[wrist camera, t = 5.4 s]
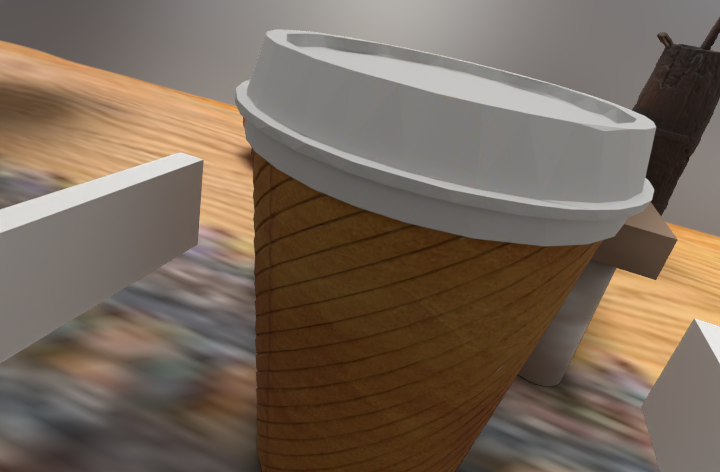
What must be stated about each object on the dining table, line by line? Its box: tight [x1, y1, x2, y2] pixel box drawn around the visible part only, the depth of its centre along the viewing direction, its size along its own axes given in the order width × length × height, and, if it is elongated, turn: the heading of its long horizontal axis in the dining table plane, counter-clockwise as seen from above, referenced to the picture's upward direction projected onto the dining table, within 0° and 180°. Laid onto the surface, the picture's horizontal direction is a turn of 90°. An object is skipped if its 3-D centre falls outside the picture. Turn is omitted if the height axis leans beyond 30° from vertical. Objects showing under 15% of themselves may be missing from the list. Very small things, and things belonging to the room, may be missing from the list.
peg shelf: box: [251, 148, 677, 386], centre depth 26 cm, size 16×14×8 cm
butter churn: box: [632, 18, 720, 216], centre depth 32 cm, size 9×10×28 cm
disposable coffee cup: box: [235, 30, 656, 472], centre depth 14 cm, size 10×10×12 cm
